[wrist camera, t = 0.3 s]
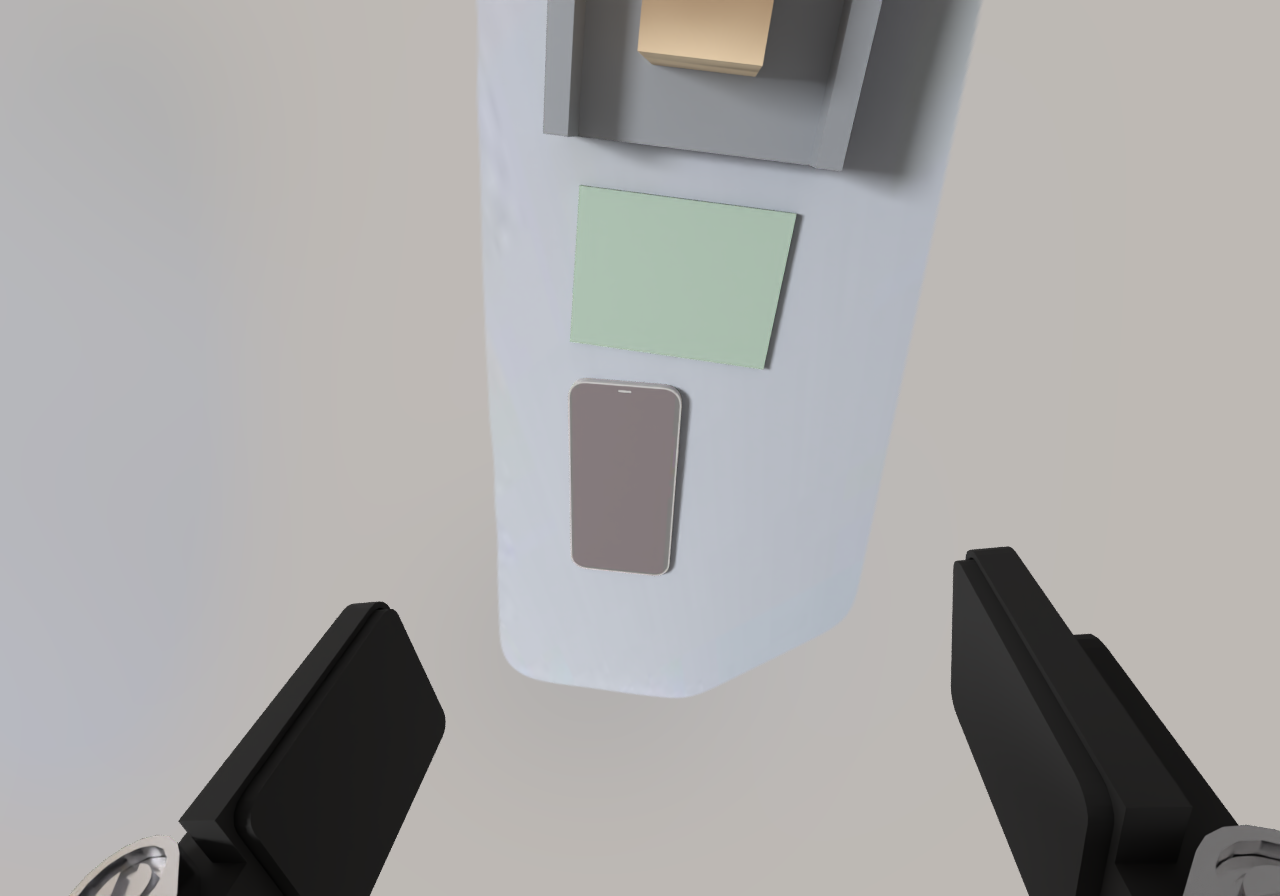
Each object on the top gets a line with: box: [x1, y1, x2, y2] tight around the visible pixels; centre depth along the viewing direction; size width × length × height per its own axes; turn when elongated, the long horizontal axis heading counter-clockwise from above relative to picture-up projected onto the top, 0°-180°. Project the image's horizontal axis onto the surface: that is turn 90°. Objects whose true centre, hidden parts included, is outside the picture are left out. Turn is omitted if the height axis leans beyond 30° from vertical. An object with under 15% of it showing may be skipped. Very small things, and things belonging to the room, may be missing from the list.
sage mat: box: [570, 185, 797, 369], centre depth 37 cm, size 9×12×1 cm
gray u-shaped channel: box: [543, 0, 882, 171], centre depth 29 cm, size 12×14×4 cm
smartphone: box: [568, 378, 682, 576], centre depth 43 cm, size 7×1×15 cm
